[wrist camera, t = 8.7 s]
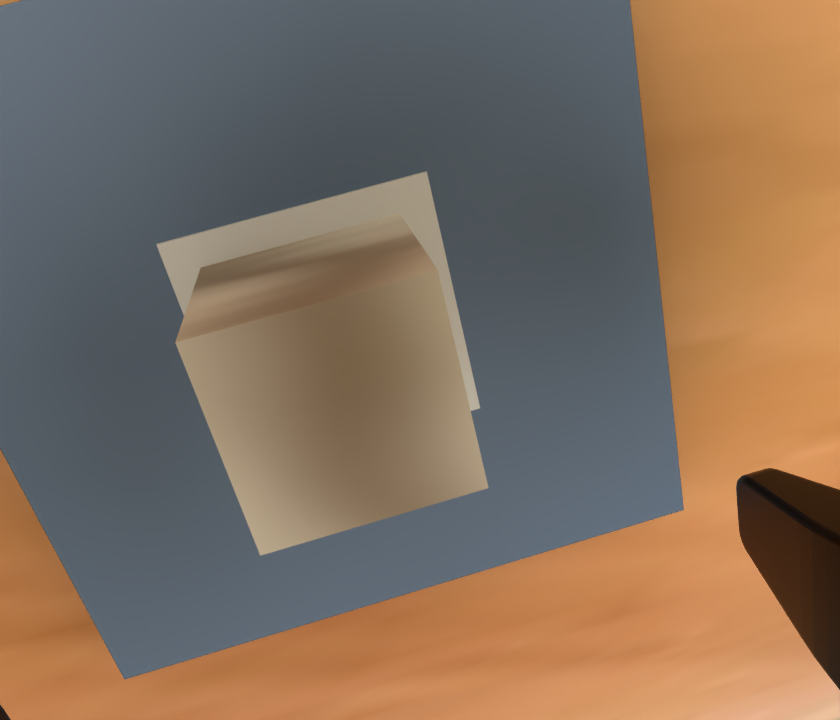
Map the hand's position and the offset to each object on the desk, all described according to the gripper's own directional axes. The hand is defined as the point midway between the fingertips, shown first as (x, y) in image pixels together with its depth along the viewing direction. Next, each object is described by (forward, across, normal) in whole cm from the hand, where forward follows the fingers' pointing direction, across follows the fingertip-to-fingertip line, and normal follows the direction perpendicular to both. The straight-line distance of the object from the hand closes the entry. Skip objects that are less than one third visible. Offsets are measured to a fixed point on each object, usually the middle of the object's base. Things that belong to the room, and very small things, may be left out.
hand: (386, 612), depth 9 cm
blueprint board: (+11, 0, 0) cm, 11 cm away
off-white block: (+10, 0, 0) cm, 10 cm away
